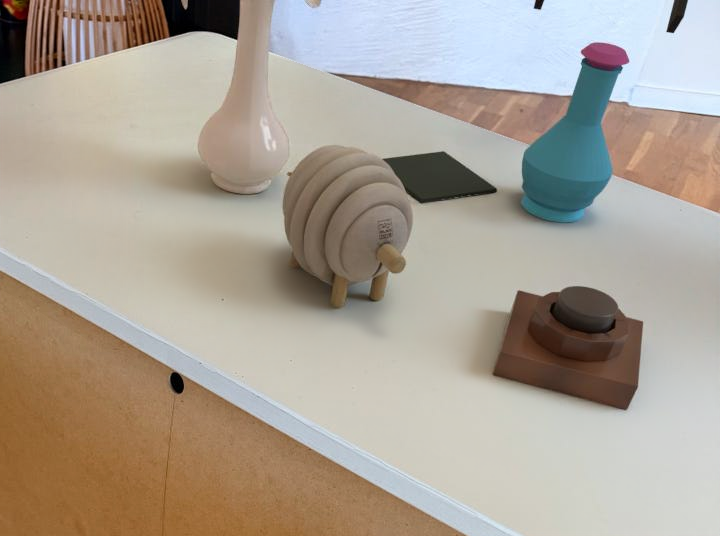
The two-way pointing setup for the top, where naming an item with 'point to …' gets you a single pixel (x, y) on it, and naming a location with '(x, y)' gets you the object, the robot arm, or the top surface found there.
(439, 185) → the coaster
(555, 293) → the button block
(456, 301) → the top surface
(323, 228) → the toy sheep
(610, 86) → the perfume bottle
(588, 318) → the button
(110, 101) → the top surface
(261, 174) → the flower vase
